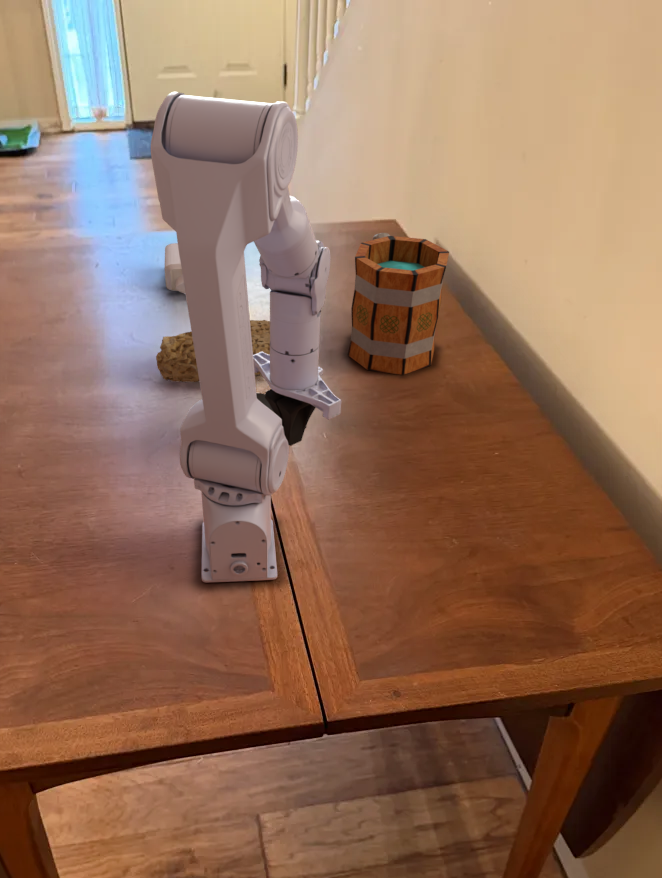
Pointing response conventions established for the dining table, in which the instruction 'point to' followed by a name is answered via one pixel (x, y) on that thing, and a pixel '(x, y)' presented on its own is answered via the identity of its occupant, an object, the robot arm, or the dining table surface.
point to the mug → (396, 303)
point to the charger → (173, 269)
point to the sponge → (180, 354)
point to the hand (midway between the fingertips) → (292, 440)
